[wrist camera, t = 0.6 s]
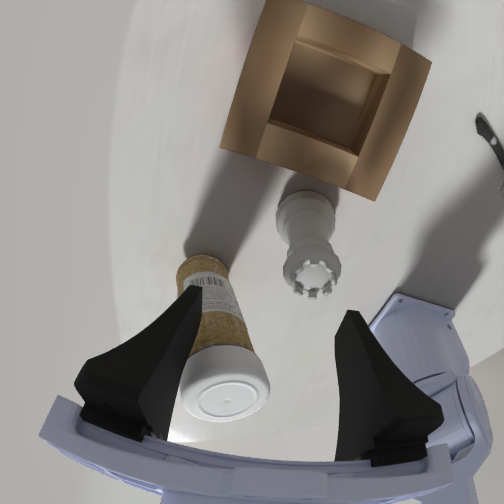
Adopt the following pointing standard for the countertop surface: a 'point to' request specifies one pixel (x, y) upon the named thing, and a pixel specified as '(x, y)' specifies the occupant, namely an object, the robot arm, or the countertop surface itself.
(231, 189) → the countertop surface
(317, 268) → the rook chess piece
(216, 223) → the countertop surface
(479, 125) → the chef's knife
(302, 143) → the bore block
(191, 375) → the sprinkles bottle
